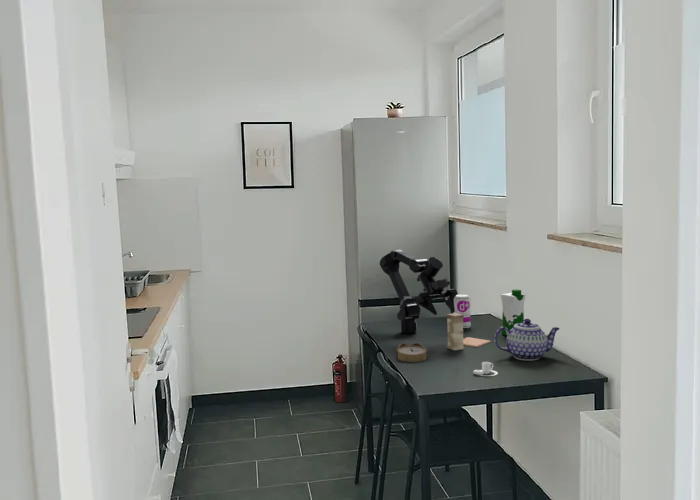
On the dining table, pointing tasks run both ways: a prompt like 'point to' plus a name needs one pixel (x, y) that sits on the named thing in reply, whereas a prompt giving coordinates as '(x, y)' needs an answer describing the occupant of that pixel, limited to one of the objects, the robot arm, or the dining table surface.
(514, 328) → the teapot
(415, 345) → the alarm clock
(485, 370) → the teacup and saucer
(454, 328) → the ash post
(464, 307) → the supplement can
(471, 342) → the terracotta tile
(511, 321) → the milk carton
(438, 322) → the dining table surface
